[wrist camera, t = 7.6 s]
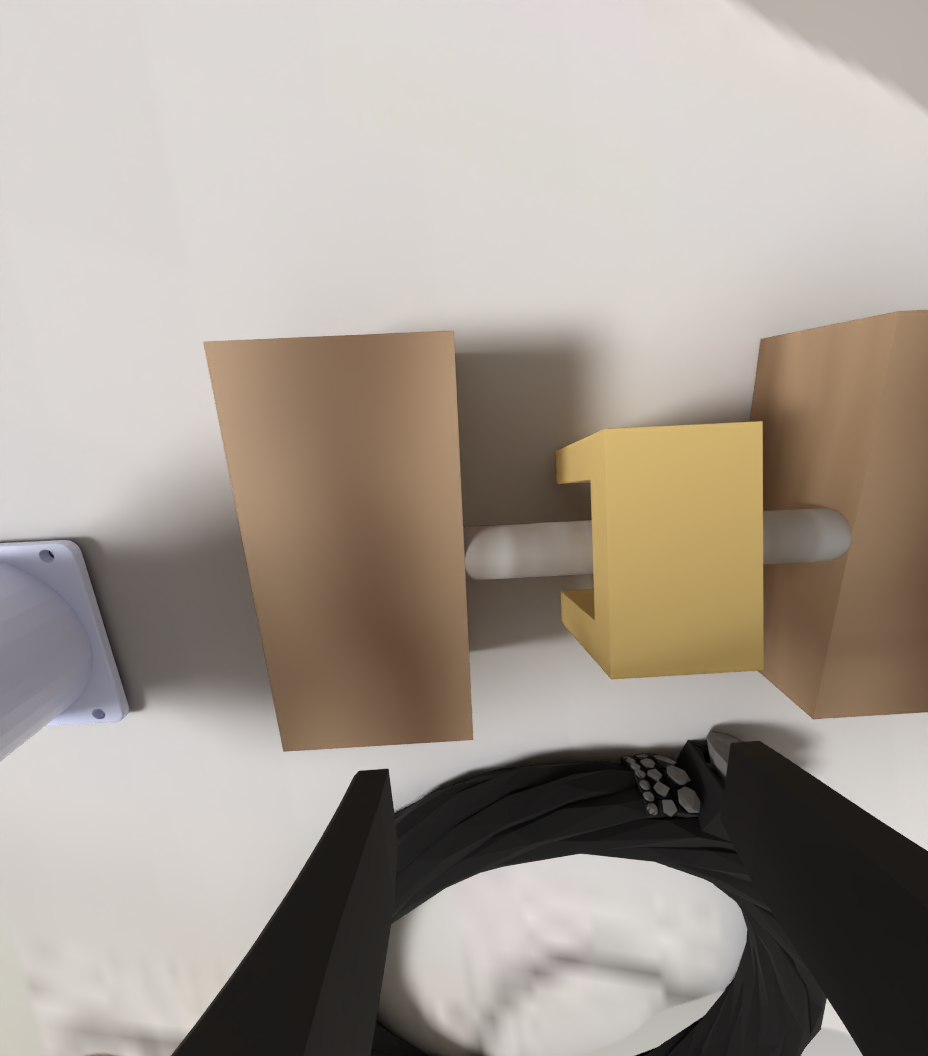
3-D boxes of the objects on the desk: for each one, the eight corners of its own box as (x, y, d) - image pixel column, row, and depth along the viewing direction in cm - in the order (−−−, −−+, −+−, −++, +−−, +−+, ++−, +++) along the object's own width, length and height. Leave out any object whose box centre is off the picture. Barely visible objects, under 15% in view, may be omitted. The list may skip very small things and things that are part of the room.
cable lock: (188, 1125, 22) (478, 655, 15) (226, 1020, 26) (473, 605, 19) (640, 1234, 26) (1026, 909, 19) (616, 1132, 30) (934, 827, 23)
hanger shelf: (326, 661, 19) (283, 751, 14) (280, 360, 15) (203, 342, 10) (857, 630, 19) (994, 708, 14) (925, 331, 16) (1135, 300, 11)
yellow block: (561, 622, 17) (611, 679, 11) (555, 451, 16) (603, 429, 11) (666, 616, 17) (763, 670, 11) (663, 445, 16) (762, 421, 11)
